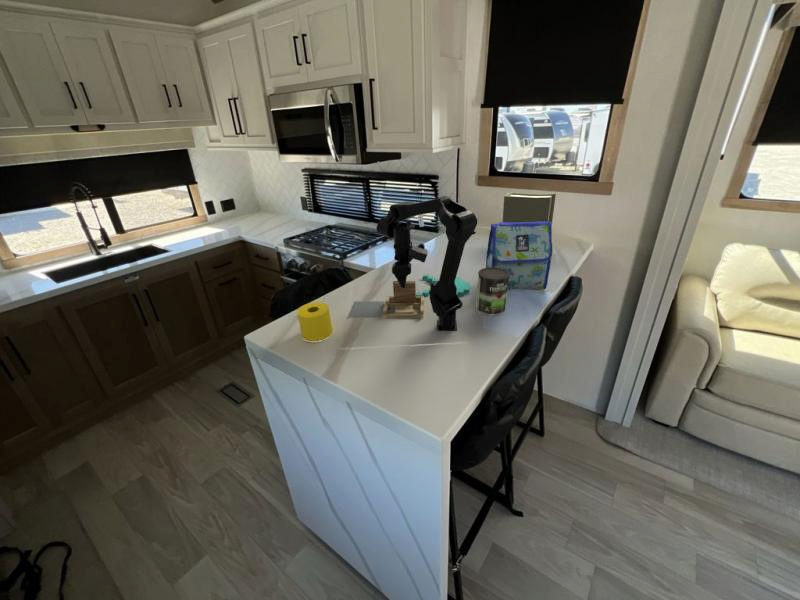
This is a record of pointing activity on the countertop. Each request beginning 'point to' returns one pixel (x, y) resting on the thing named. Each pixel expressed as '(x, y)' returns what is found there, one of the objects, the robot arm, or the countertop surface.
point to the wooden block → (404, 292)
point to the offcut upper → (404, 310)
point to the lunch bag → (521, 253)
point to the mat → (366, 309)
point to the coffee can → (492, 291)
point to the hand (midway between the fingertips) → (404, 282)
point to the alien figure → (460, 284)
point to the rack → (391, 304)
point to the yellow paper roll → (315, 321)
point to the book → (528, 207)
